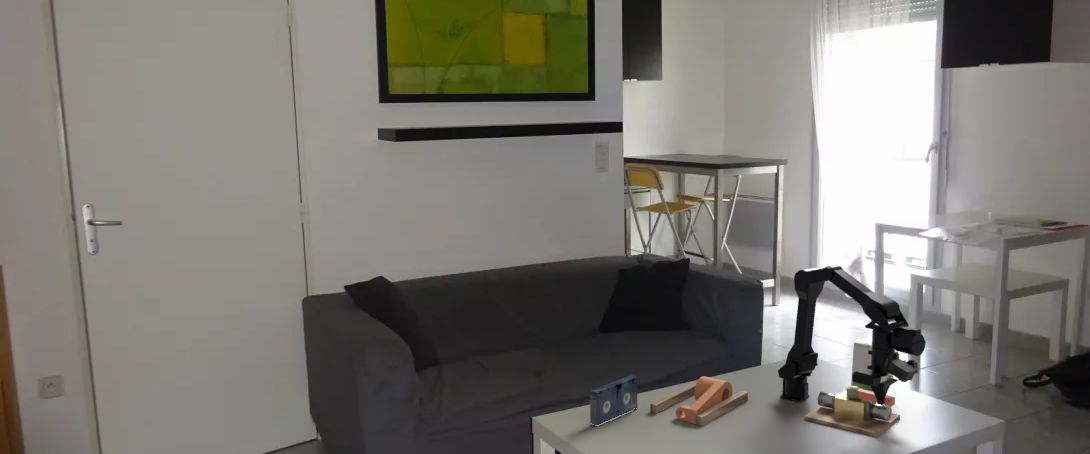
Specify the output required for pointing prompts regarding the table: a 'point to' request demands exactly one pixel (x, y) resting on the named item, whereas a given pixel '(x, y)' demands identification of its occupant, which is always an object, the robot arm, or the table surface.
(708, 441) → the table surface
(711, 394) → the crank
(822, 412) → the board
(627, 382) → the vhs cassette tape
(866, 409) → the valve
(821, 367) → the table surface
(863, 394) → the lever
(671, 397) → the pair of wooden rails
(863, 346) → the skincare box
